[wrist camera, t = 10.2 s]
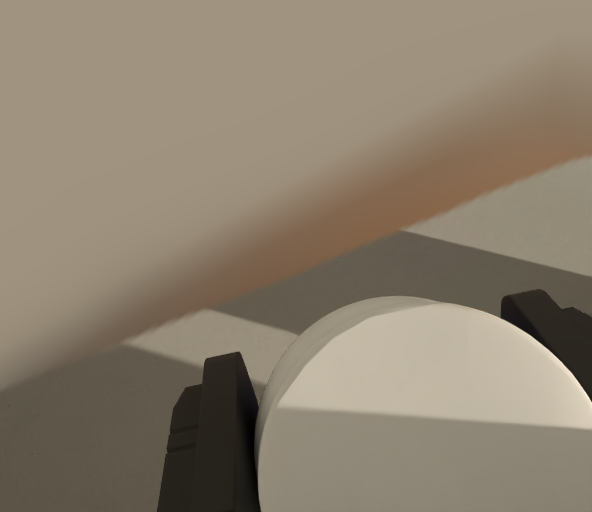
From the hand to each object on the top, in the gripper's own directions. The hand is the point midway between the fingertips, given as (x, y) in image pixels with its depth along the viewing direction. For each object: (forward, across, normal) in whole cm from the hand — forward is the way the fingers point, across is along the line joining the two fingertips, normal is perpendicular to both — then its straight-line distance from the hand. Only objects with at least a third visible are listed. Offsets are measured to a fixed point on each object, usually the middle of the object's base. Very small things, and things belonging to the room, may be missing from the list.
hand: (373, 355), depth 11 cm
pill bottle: (+3, 0, +6) cm, 6 cm away
